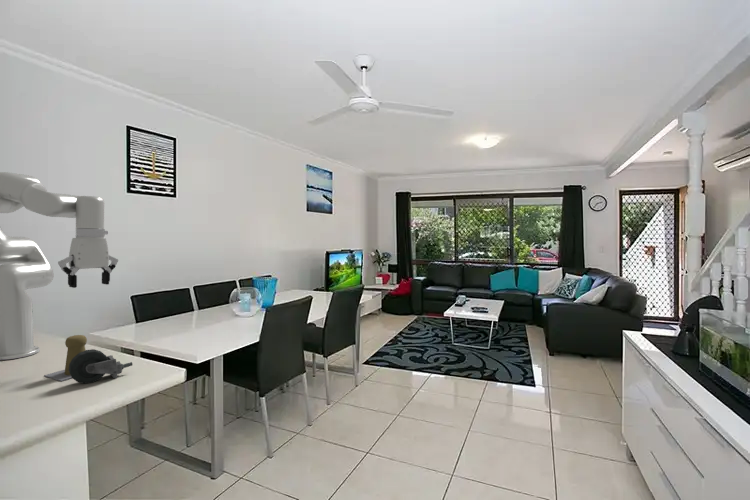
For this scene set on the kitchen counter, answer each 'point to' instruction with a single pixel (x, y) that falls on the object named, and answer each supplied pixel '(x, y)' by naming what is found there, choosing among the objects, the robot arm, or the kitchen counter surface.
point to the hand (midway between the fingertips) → (89, 285)
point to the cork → (74, 348)
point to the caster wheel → (94, 366)
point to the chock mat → (59, 376)
